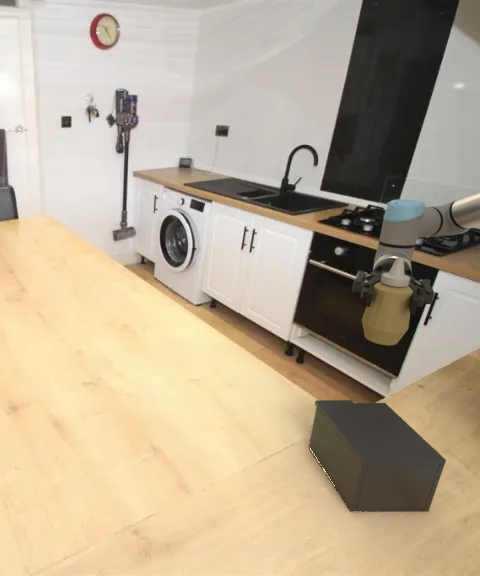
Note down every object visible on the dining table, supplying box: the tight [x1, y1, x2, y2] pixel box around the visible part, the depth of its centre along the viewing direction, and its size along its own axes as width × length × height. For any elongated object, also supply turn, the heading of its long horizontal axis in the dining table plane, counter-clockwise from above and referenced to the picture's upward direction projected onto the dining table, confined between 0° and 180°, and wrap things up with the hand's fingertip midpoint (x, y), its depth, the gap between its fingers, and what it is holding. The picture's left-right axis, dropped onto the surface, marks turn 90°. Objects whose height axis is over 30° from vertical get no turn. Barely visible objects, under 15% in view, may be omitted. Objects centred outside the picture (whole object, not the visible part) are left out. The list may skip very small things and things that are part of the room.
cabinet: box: [308, 402, 447, 513], centre depth 72 cm, size 15×13×11 cm
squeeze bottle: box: [361, 257, 413, 346], centre depth 84 cm, size 8×8×18 cm
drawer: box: [309, 399, 355, 440], centre depth 76 cm, size 18×11×9 cm, turn 179°
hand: (391, 304), depth 79 cm, fingers closed on squeeze bottle, 6 cm apart
